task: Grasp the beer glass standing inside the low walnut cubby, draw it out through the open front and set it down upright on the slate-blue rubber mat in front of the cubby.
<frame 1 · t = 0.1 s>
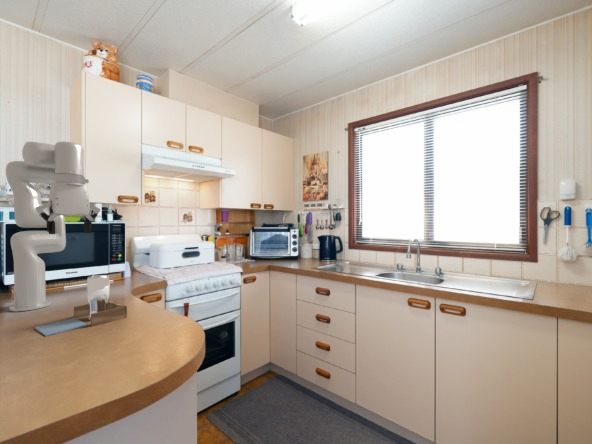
hand: (70, 233, 94), 31 cm above the countertop, tool pointing down, fingers open, 9 cm apart
cubby: (98, 317, 105), on the countertop
mat: (61, 327, 96), on the countertop
beer glass: (98, 318, 105), on the countertop
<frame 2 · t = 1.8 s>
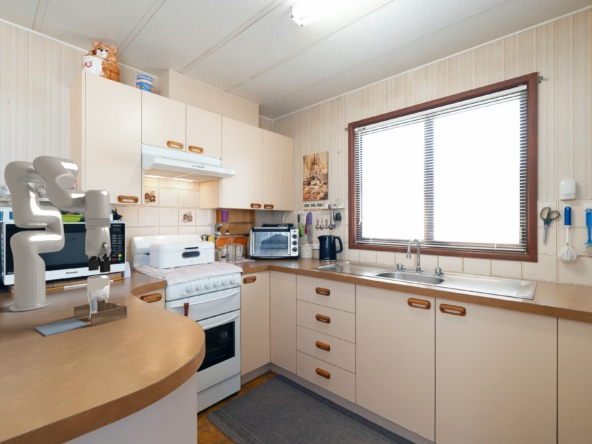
hand: (99, 271, 105), 17 cm above the countertop, tool pointing down, fingers open, 9 cm apart
nothing on the countertop moved.
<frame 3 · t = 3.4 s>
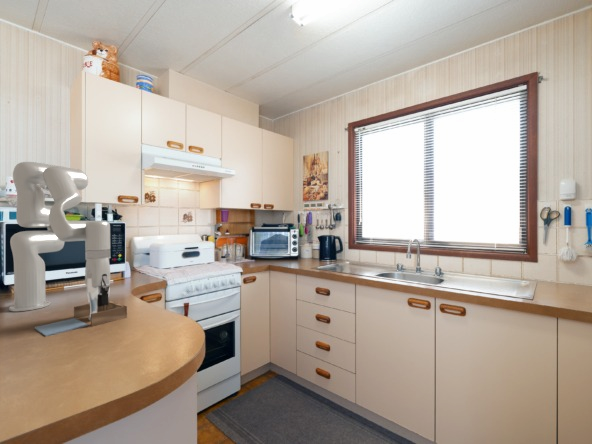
hand: (98, 303, 105), 5 cm above the countertop, tool pointing down, fingers closed on beer glass, 6 cm apart
beer glass: (98, 318, 105), on the countertop, touching gripper
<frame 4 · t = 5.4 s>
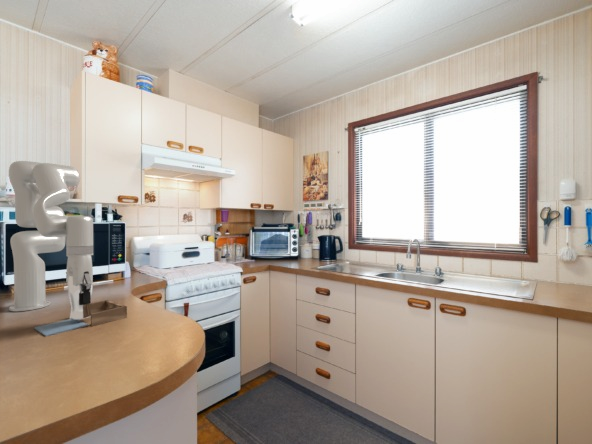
hand: (80, 302, 101), 7 cm above the countertop, tool pointing down, fingers closed on beer glass, 6 cm apart
beer glass: (80, 317, 101), point 2 cm above the countertop, touching gripper
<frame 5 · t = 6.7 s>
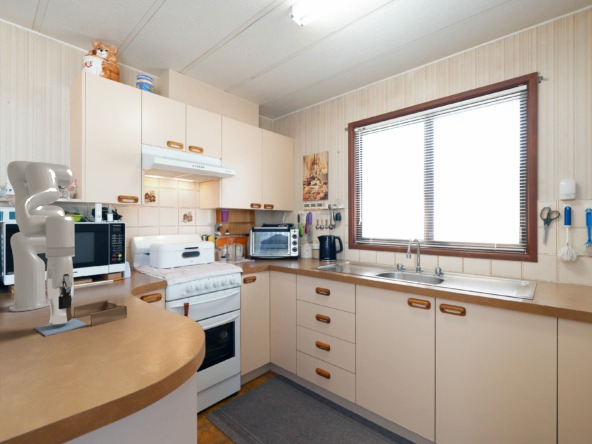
hand: (61, 305, 96), 7 cm above the countertop, tool pointing down, fingers closed on beer glass, 6 cm apart
beer glass: (61, 322, 96), point 2 cm above the countertop, touching gripper
when the fingers open (6 cm above the countertop, at t = 7.6 s): beer glass stays where it is, resting on mat.
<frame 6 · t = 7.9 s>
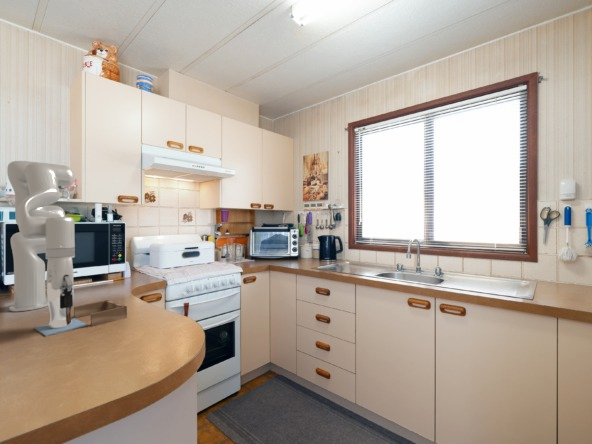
hand: (61, 305, 96), 7 cm above the countertop, tool pointing down, fingers open, 9 cm apart
beer glass: (60, 326, 96), resting on mat
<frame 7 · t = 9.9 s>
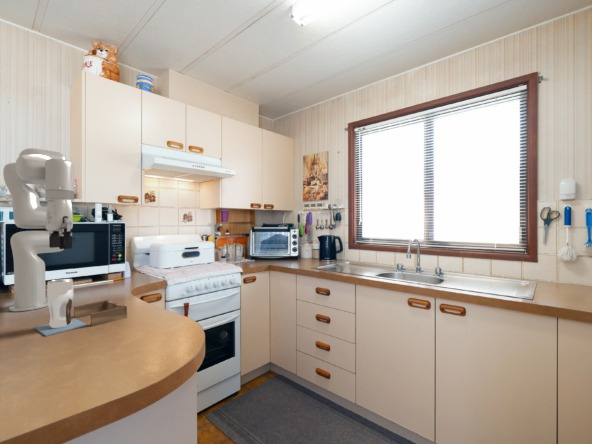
hand: (60, 248, 96), 26 cm above the countertop, tool pointing down, fingers open, 9 cm apart
nothing on the countertop moved.
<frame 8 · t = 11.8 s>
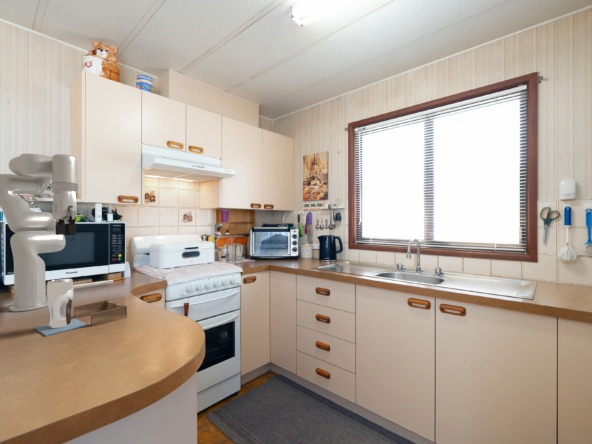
hand: (65, 234, 107), 30 cm above the countertop, tool pointing down, fingers open, 9 cm apart
nothing on the countertop moved.
at the end: beer glass inside the target area on the mat (0.5 cm from its centre), point 0.2 cm above the mat's base; beer glass tilted 0°; the gripper is holding nothing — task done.
